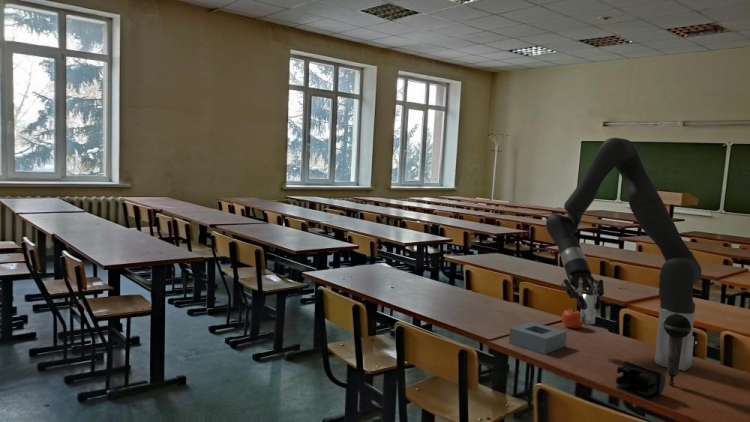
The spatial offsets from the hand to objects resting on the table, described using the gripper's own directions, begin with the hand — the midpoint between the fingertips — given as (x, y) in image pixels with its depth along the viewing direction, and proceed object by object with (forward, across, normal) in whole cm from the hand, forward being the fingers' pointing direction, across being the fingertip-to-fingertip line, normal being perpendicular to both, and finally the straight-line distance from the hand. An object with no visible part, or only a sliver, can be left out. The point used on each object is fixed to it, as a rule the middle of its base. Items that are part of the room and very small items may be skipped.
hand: (591, 308), depth 172 cm
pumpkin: (-10, +9, +31) cm, 33 cm away
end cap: (+31, -1, -9) cm, 32 cm away
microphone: (+28, +11, -6) cm, 31 cm away
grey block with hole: (+4, -13, +17) cm, 22 cm away
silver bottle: (+2, 0, +5) cm, 5 cm away
